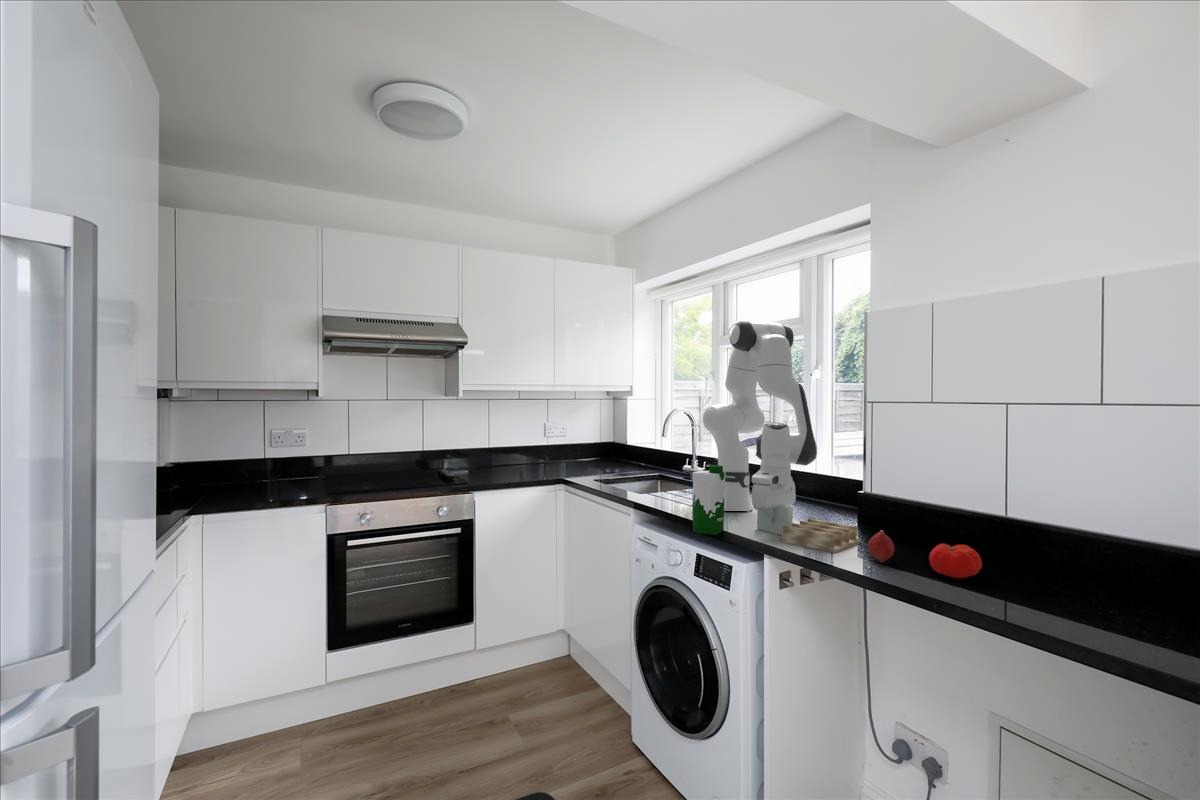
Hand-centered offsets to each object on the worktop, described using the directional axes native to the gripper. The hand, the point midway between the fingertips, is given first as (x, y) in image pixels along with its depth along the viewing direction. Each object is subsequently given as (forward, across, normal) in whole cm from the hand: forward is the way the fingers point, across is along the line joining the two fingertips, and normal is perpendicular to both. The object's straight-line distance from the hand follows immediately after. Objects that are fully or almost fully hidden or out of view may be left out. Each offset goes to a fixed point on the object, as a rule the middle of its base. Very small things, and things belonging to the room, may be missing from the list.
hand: (774, 521), depth 165 cm
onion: (+3, +10, +34) cm, 36 cm away
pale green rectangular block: (+3, 0, 0) cm, 3 cm away
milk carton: (+3, +16, -13) cm, 21 cm away
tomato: (+3, +7, +49) cm, 50 cm away
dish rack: (+3, +2, +15) cm, 15 cm away
